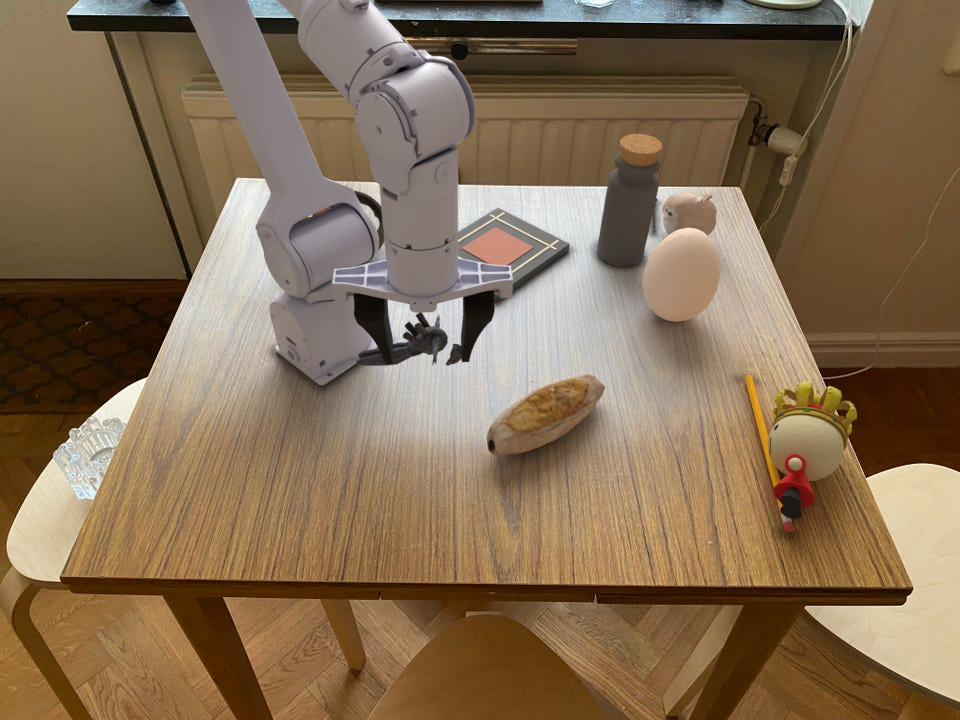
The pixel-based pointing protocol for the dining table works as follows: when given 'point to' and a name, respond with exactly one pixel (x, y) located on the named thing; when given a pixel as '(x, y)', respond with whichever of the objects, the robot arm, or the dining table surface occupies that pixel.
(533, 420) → the tan oval piece
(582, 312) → the dining table surface
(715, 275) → the egg
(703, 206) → the beige apple
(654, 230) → the screw
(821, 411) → the toy
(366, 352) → the figurine
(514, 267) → the board
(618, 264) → the bottle
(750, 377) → the pencil
